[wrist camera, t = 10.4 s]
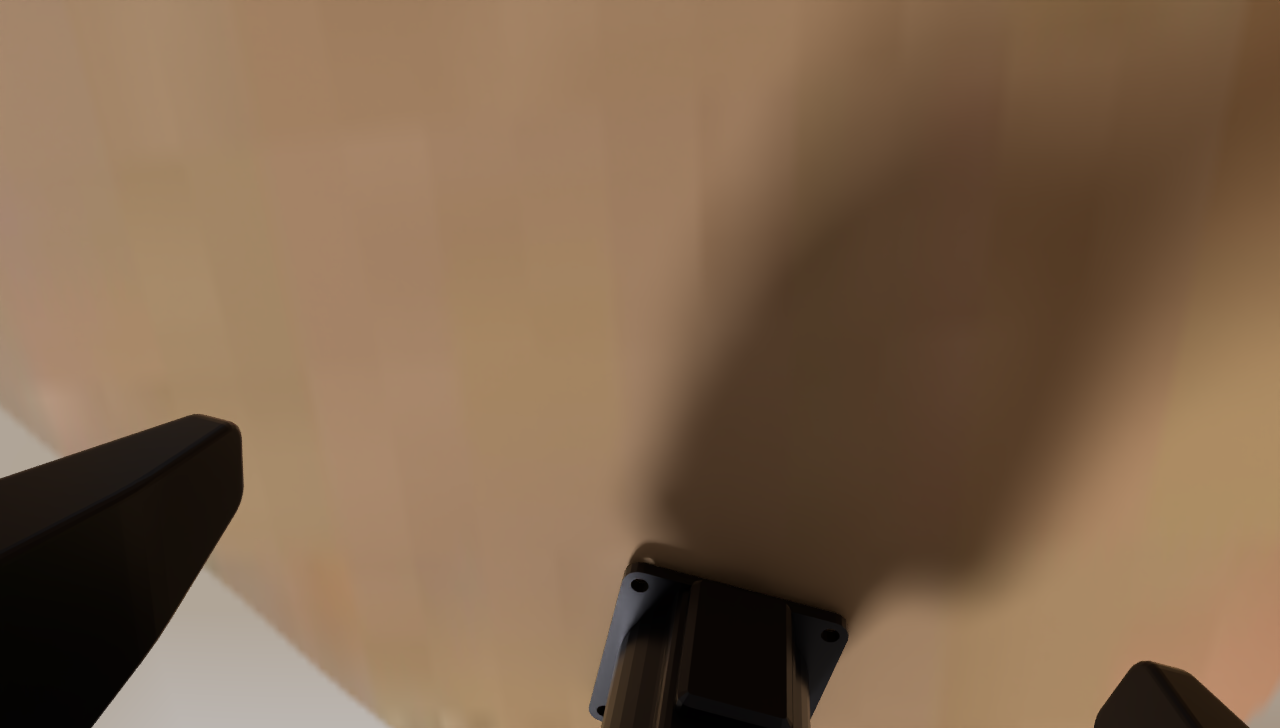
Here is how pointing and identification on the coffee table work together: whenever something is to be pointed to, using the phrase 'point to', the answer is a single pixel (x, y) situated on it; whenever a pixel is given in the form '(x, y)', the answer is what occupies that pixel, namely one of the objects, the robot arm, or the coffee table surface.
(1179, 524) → the coffee table surface
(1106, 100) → the coffee table surface
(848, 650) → the coffee table surface
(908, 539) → the coffee table surface
